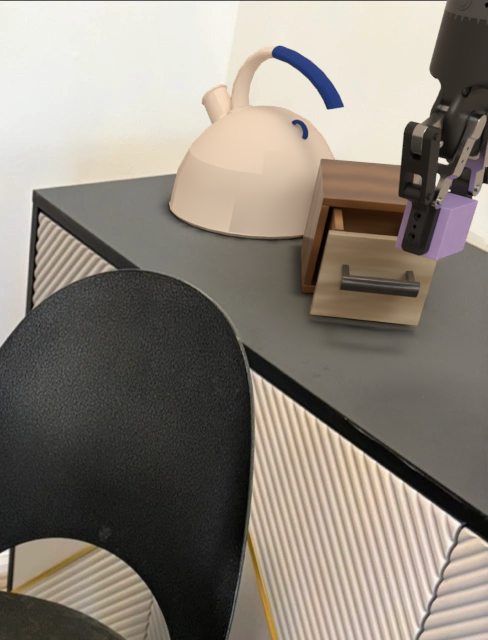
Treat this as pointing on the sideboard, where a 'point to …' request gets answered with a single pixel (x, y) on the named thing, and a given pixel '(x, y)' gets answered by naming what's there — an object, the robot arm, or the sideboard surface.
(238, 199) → the kettle
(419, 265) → the drawer
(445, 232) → the purple cube
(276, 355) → the sideboard surface
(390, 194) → the wooden nightstand
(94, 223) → the sideboard surface
